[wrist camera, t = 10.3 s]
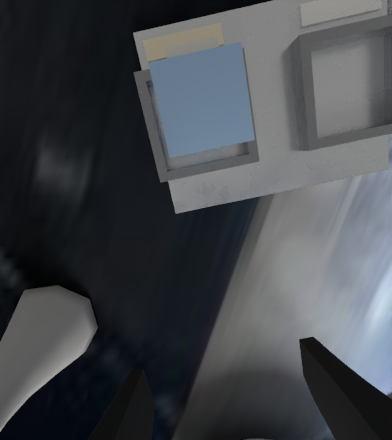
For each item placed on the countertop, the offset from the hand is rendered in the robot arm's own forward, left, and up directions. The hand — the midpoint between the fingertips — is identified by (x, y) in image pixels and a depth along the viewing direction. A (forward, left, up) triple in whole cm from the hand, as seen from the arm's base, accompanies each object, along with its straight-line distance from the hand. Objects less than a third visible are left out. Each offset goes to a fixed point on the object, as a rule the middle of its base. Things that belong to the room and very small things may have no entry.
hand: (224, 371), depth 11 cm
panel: (-7, -12, -10) cm, 17 cm away
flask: (+14, +2, -11) cm, 18 cm away
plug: (-2, -12, -9) cm, 15 cm away
